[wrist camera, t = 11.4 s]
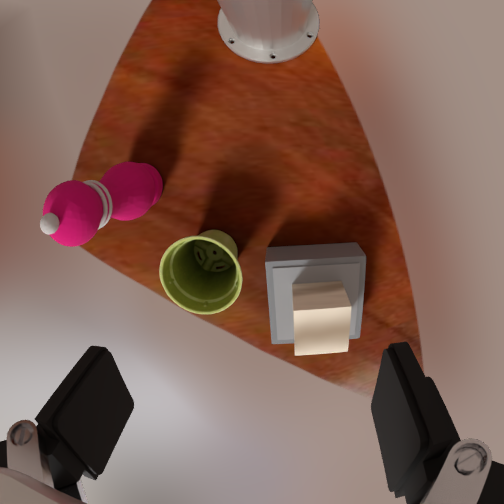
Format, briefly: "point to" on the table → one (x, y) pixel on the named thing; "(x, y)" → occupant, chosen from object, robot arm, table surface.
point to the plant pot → (202, 272)
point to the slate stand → (312, 281)
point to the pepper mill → (99, 202)
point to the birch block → (321, 318)
